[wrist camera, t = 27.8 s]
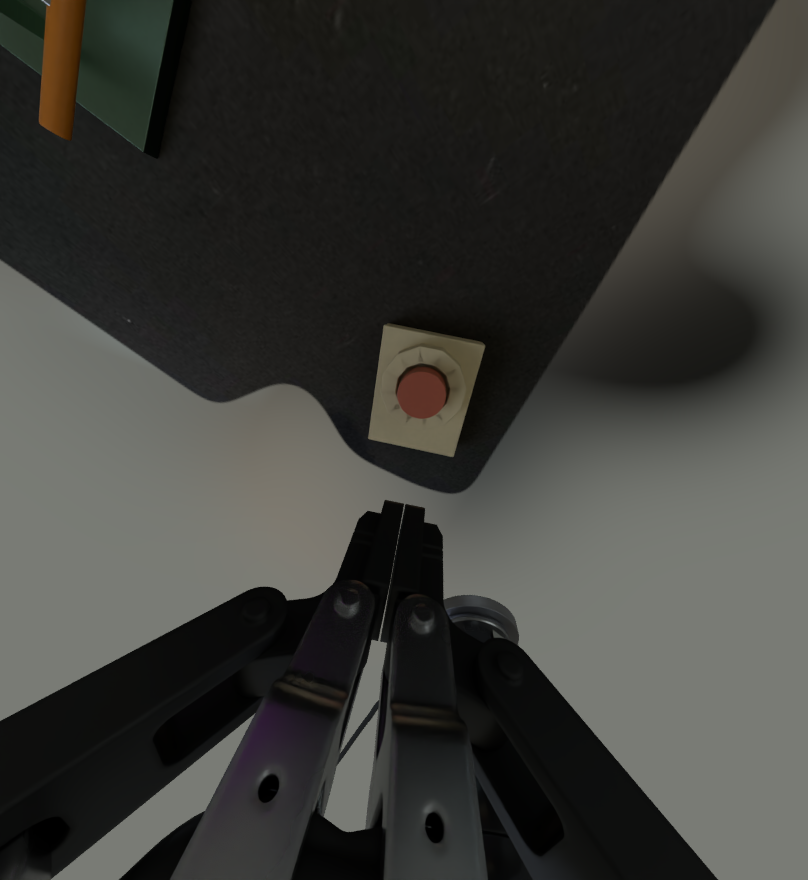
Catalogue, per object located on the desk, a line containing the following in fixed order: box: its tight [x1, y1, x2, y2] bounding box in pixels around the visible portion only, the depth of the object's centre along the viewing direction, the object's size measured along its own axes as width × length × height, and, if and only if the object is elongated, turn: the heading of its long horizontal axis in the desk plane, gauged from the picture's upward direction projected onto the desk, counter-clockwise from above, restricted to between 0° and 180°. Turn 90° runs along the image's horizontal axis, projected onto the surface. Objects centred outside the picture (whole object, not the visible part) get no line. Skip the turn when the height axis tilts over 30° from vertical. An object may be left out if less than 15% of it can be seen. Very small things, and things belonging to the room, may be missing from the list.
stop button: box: [397, 367, 446, 419], centre depth 23 cm, size 4×4×2 cm
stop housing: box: [368, 323, 485, 457], centre depth 25 cm, size 10×8×4 cm
